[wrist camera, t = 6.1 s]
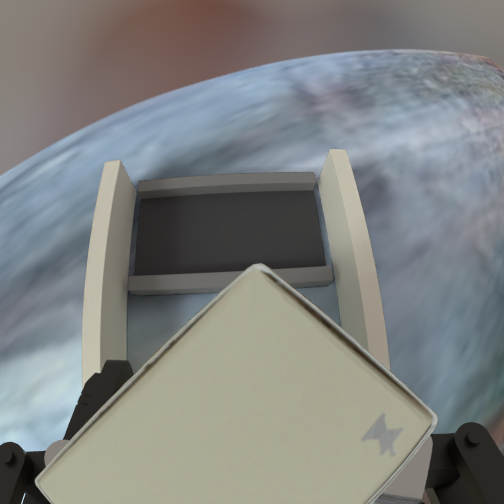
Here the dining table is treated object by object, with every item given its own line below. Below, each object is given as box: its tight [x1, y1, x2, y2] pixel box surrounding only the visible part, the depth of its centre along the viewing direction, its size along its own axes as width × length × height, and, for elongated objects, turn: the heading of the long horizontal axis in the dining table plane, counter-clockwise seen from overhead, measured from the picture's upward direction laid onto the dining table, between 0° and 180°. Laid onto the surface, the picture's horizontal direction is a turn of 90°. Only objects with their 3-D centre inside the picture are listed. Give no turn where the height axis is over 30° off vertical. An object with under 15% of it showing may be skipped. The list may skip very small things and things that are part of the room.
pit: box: [128, 172, 333, 296], centre depth 18 cm, size 11×7×1 cm, turn 94°
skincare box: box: [35, 263, 438, 504], centre depth 9 cm, size 6×4×12 cm
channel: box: [82, 149, 390, 388], centre depth 13 cm, size 14×27×4 cm, turn 4°
